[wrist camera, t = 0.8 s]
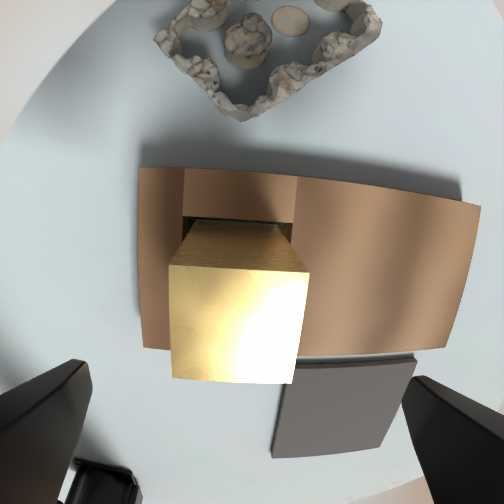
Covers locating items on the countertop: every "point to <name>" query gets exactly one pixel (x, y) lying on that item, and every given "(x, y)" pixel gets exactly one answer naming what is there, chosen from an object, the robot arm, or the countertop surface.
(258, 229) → the brass plug
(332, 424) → the rubber mat
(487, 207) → the countertop surface
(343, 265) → the walnut board
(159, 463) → the countertop surface
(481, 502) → the robot arm
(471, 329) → the countertop surface
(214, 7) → the egg carton
